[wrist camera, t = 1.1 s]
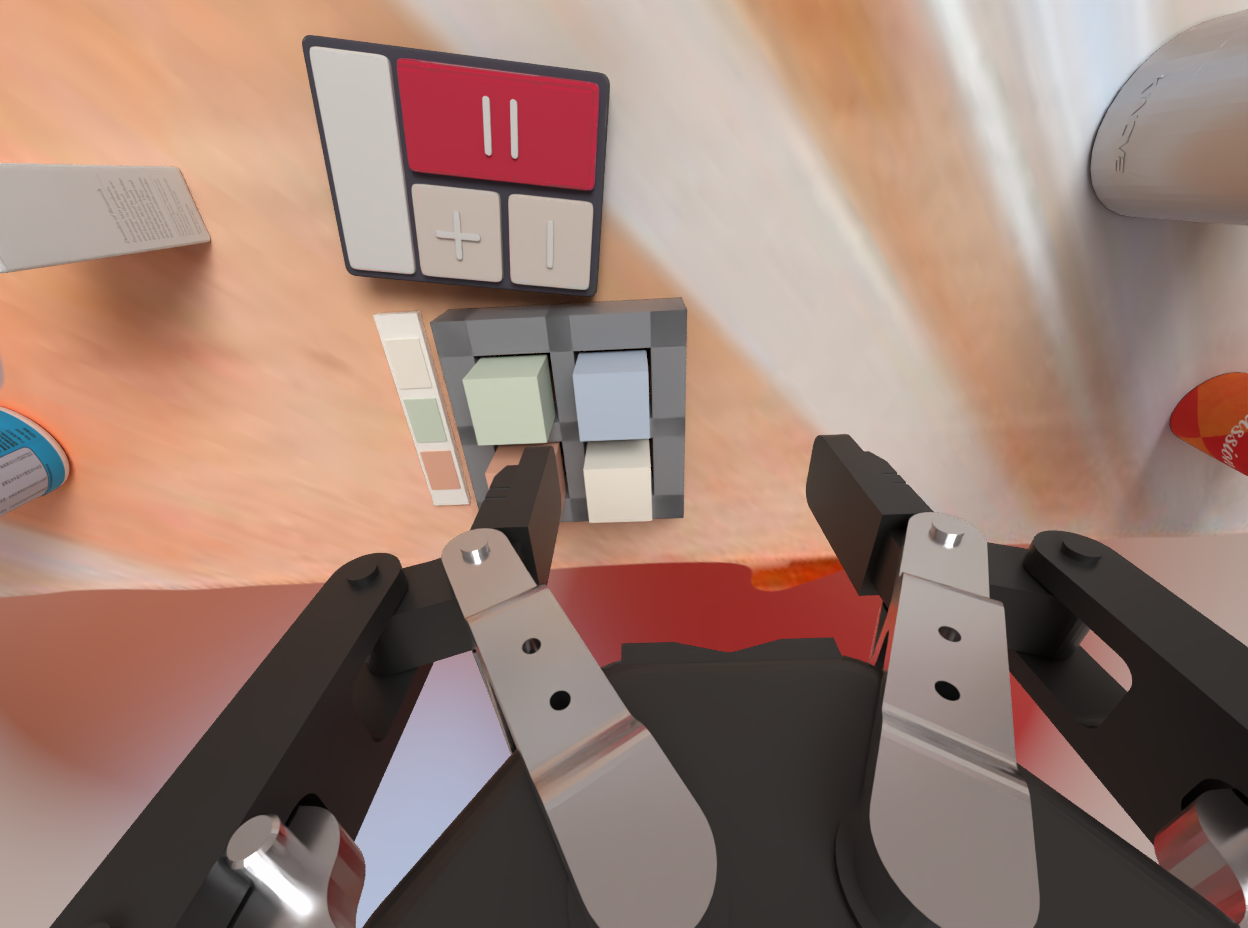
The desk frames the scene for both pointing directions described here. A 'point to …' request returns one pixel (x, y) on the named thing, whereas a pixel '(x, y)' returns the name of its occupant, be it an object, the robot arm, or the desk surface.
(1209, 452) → the paper cup
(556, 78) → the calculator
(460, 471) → the strip
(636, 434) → the slate key
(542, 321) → the keypad base
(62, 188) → the skincare box
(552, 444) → the terracotta key
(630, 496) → the cream key
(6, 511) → the beverage bottle
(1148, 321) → the desk surface
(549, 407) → the sage key
